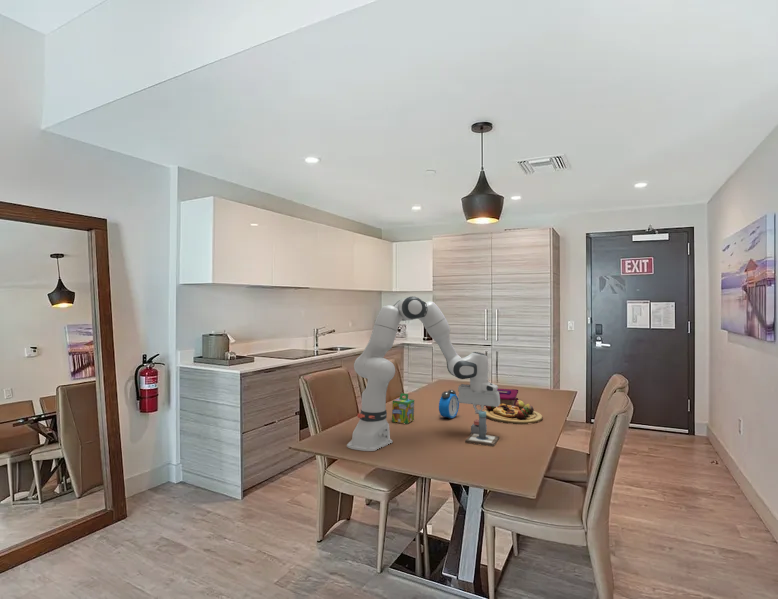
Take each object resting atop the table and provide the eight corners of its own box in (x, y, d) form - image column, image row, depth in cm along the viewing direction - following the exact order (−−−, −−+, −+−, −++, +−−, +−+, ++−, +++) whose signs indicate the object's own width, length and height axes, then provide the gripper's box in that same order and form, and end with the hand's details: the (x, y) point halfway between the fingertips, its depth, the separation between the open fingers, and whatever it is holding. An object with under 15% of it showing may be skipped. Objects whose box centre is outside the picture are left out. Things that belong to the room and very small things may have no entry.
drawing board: (493, 446, 207) (493, 443, 207) (465, 442, 213) (465, 439, 213) (499, 438, 219) (499, 435, 219) (471, 435, 225) (471, 432, 225)
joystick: (485, 439, 214) (485, 413, 214) (477, 438, 215) (478, 412, 215) (486, 437, 217) (486, 411, 217) (479, 436, 218) (479, 410, 218)
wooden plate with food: (471, 416, 261) (472, 402, 261) (503, 407, 283) (503, 393, 283) (523, 429, 238) (523, 413, 238) (552, 418, 260) (553, 403, 260)
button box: (483, 436, 223) (484, 427, 223) (470, 434, 226) (470, 426, 226) (486, 432, 229) (486, 424, 229) (473, 431, 231) (473, 423, 231)
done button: (482, 430, 225) (482, 422, 225) (473, 429, 226) (473, 421, 226) (483, 427, 228) (483, 420, 228) (475, 426, 230) (475, 419, 230)
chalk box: (391, 422, 247) (391, 394, 247) (399, 418, 255) (399, 391, 255) (407, 424, 243) (407, 396, 243) (414, 420, 251) (414, 393, 251)
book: (479, 407, 285) (480, 394, 285) (486, 397, 312) (486, 386, 312) (515, 409, 278) (515, 397, 278) (518, 400, 305) (518, 388, 305)
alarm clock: (447, 420, 250) (448, 393, 250) (438, 419, 254) (438, 391, 254) (459, 416, 261) (459, 389, 261) (449, 414, 265) (449, 388, 265)
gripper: (456, 384, 228) (456, 412, 228) (498, 388, 220) (498, 417, 220) (459, 382, 234) (459, 410, 234) (501, 386, 226) (500, 414, 226)
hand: (478, 413), depth 227 cm, fingers closed
